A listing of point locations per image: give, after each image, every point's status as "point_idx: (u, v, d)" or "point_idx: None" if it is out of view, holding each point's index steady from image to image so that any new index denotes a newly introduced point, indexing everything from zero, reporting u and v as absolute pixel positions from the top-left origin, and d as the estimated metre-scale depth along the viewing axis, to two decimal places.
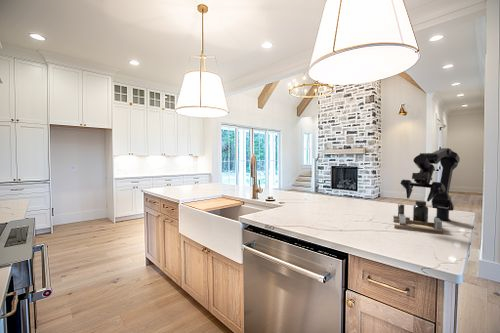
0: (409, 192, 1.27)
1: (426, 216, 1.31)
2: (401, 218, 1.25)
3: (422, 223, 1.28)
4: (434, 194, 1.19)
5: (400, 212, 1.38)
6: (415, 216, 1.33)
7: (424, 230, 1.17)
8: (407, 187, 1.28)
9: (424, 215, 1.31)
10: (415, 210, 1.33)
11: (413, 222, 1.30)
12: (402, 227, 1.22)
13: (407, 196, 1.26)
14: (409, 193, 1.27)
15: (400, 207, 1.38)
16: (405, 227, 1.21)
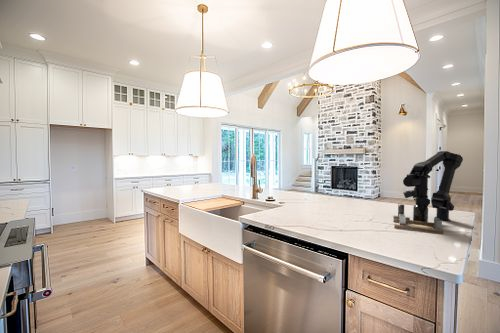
0: None
1: (426, 216, 1.31)
2: (401, 218, 1.25)
3: (422, 223, 1.28)
4: (424, 207, 1.29)
5: (400, 212, 1.38)
6: (415, 216, 1.33)
7: (424, 230, 1.17)
8: None
9: (424, 215, 1.31)
10: (415, 210, 1.33)
11: (413, 222, 1.30)
12: (402, 227, 1.22)
13: None
14: None
15: (400, 207, 1.38)
16: (405, 227, 1.21)
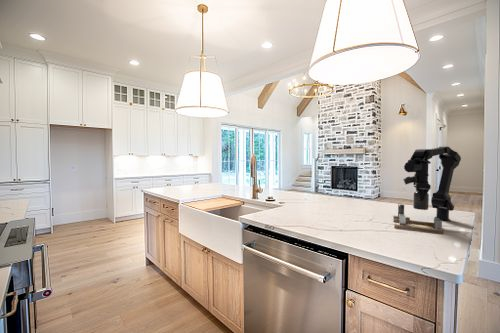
0: None
1: (426, 202, 1.29)
2: (401, 218, 1.25)
3: (422, 223, 1.28)
4: (425, 192, 1.27)
5: (400, 212, 1.38)
6: (415, 202, 1.31)
7: (424, 230, 1.17)
8: (416, 188, 1.37)
9: (424, 201, 1.29)
10: (415, 196, 1.31)
11: (413, 222, 1.30)
12: (402, 227, 1.22)
13: None
14: None
15: (400, 207, 1.38)
16: (405, 227, 1.21)
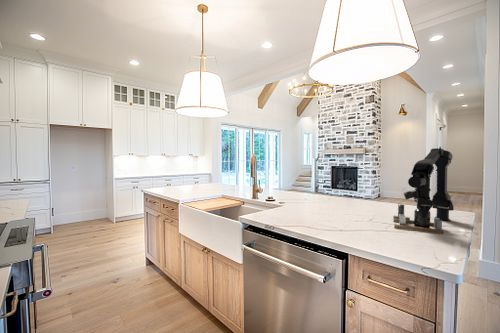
0: None
1: (428, 221, 1.20)
2: (401, 218, 1.25)
3: None
4: (427, 209, 1.18)
5: (400, 212, 1.38)
6: (416, 221, 1.23)
7: (424, 230, 1.17)
8: (417, 202, 1.29)
9: (426, 220, 1.20)
10: (416, 215, 1.23)
11: (413, 222, 1.30)
12: (402, 227, 1.22)
13: None
14: None
15: (400, 207, 1.38)
16: (405, 227, 1.21)
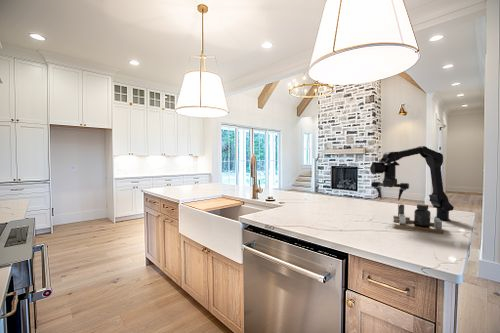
0: (380, 192, 1.43)
1: (428, 221, 1.20)
2: (401, 218, 1.25)
3: None
4: (402, 192, 1.37)
5: (400, 212, 1.38)
6: (416, 221, 1.23)
7: (424, 230, 1.17)
8: (378, 189, 1.42)
9: (426, 220, 1.20)
10: (416, 214, 1.23)
11: (413, 222, 1.30)
12: (402, 227, 1.22)
13: (380, 197, 1.42)
14: (380, 193, 1.43)
15: (400, 207, 1.38)
16: (405, 227, 1.21)
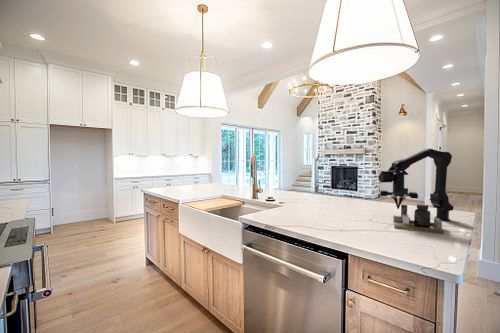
0: (397, 202, 1.40)
1: (428, 221, 1.20)
2: (404, 218, 1.24)
3: None
4: None
5: (403, 212, 1.38)
6: (416, 221, 1.23)
7: (424, 230, 1.17)
8: (396, 199, 1.39)
9: (426, 220, 1.20)
10: (416, 215, 1.23)
11: (413, 222, 1.30)
12: (402, 227, 1.22)
13: (397, 207, 1.40)
14: (397, 203, 1.40)
15: (403, 207, 1.38)
16: (405, 227, 1.21)
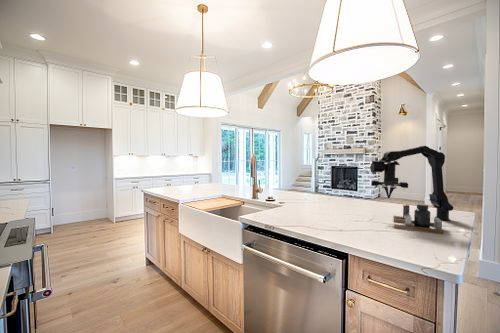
0: None
1: (428, 221, 1.20)
2: (407, 219, 1.24)
3: None
4: None
5: (405, 212, 1.37)
6: (416, 221, 1.23)
7: (424, 230, 1.17)
8: (386, 189, 1.41)
9: (426, 220, 1.20)
10: (416, 215, 1.23)
11: (413, 222, 1.30)
12: (402, 227, 1.22)
13: (388, 197, 1.42)
14: None
15: (405, 207, 1.37)
16: (405, 227, 1.21)
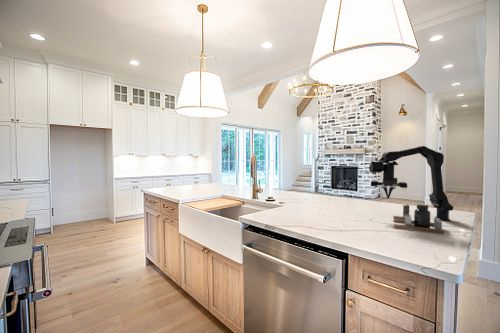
0: (387, 192, 1.42)
1: (428, 221, 1.20)
2: (407, 219, 1.24)
3: None
4: None
5: (405, 212, 1.37)
6: (416, 221, 1.23)
7: (424, 230, 1.17)
8: (386, 189, 1.41)
9: (426, 220, 1.20)
10: (416, 215, 1.23)
11: (413, 222, 1.30)
12: (402, 227, 1.22)
13: (387, 197, 1.42)
14: (387, 193, 1.43)
15: (405, 207, 1.37)
16: (405, 227, 1.21)
